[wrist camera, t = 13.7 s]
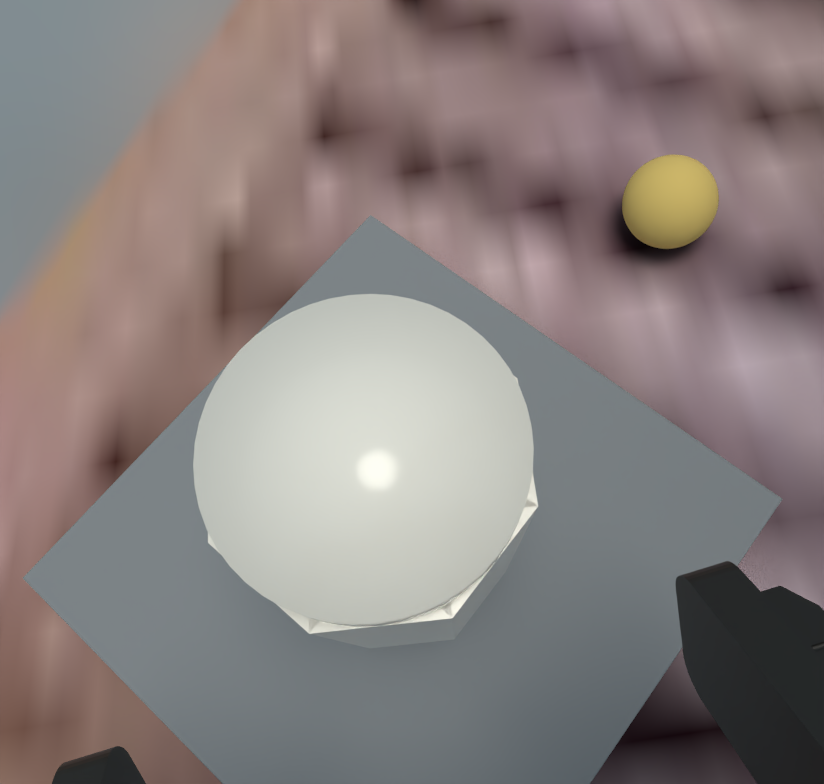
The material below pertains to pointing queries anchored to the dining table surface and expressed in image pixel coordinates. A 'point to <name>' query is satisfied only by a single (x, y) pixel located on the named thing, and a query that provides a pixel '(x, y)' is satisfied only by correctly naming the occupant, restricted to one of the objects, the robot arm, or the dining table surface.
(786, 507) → the dining table surface
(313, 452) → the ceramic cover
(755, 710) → the robot arm
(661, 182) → the ball
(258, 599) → the rubber mat
